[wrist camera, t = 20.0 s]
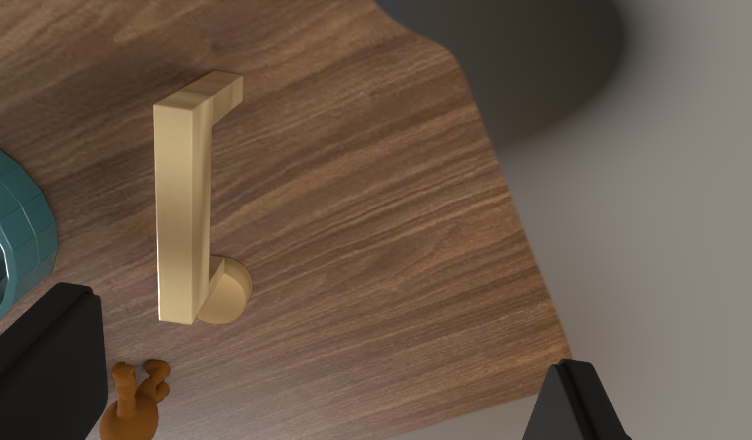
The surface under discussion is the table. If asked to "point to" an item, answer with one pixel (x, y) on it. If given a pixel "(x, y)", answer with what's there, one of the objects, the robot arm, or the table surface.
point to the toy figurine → (135, 402)
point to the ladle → (193, 205)
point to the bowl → (23, 236)
